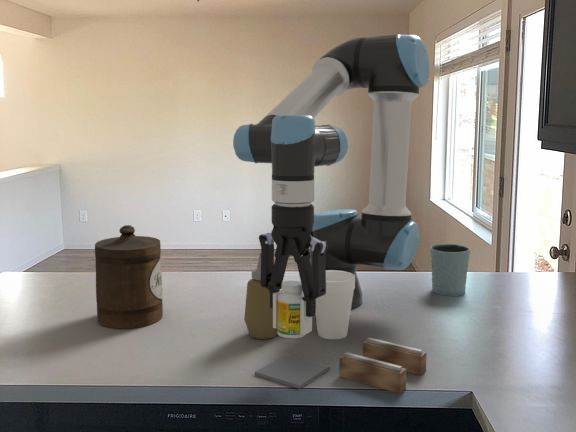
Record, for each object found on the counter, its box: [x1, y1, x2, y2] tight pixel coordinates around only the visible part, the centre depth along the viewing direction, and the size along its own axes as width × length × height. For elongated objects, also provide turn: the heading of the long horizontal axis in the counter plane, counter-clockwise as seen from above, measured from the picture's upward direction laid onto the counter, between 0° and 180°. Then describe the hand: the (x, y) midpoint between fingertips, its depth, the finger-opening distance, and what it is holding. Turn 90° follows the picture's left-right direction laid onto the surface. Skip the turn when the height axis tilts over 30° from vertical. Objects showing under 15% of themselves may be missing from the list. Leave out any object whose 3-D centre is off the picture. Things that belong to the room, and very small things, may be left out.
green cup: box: [429, 243, 471, 297], centre depth 162 cm, size 10×10×12 cm
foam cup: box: [314, 270, 355, 340], centre depth 131 cm, size 10×9×13 cm
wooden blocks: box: [338, 337, 428, 394], centre depth 112 cm, size 12×11×4 cm
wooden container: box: [94, 224, 164, 330], centre depth 141 cm, size 15×15×22 cm
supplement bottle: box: [277, 280, 305, 339], centre depth 111 cm, size 5×5×10 cm
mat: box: [254, 353, 331, 389], centre depth 113 cm, size 10×10×1 cm
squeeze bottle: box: [243, 252, 278, 340], centre depth 130 cm, size 8×8×18 cm
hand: (292, 329), depth 111 cm, fingers closed on supplement bottle, 5 cm apart
